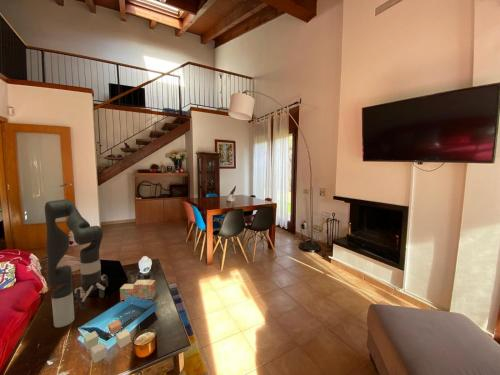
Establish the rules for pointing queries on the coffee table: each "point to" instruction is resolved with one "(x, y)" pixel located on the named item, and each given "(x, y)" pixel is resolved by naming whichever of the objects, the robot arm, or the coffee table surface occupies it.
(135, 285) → the stack of blocks
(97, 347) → the beige cube
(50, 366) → the coffee table surface
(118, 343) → the cream cube
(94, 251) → the robot arm
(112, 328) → the terracotta cube
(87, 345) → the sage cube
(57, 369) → the coffee table surface
